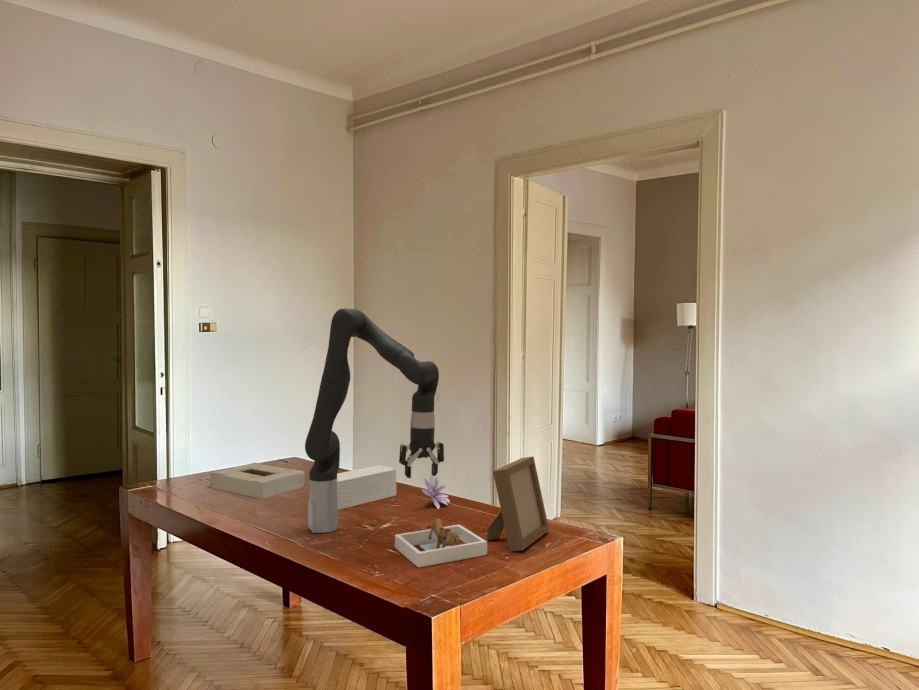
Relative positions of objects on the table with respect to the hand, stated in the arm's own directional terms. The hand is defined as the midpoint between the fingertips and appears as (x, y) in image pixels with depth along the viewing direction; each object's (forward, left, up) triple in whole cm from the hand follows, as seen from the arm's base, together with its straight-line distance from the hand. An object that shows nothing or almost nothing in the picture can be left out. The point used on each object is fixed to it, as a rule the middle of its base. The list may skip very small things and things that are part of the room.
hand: (421, 476), depth 209 cm
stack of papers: (-3, +57, -22) cm, 61 cm away
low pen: (+2, -9, -21) cm, 23 cm away
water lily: (+22, +36, -22) cm, 48 cm away
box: (-34, +95, -22) cm, 103 cm away
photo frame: (+28, -10, -22) cm, 37 cm away
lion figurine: (+3, -7, -20) cm, 21 cm away
